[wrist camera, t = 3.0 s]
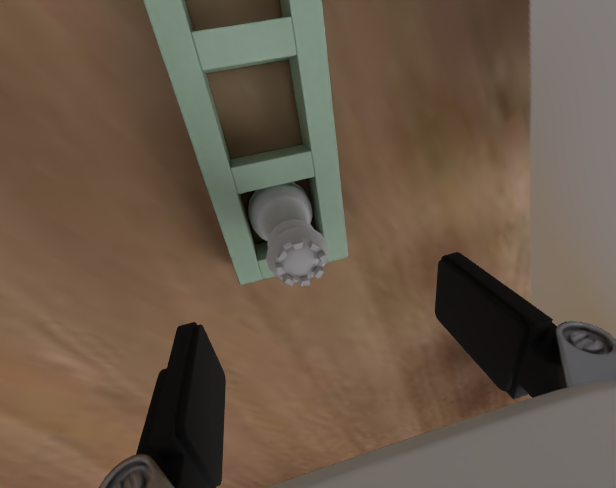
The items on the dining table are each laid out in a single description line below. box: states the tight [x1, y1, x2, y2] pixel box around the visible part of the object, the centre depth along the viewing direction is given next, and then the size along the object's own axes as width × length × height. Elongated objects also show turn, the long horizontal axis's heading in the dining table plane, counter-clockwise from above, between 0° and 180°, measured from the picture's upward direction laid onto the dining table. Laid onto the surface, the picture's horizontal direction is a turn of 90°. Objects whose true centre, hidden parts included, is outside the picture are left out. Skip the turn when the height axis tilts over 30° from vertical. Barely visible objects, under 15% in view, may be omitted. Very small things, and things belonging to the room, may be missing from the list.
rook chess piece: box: [248, 182, 329, 287], centre depth 18 cm, size 4×4×8 cm
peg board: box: [143, 0, 348, 285], centre depth 17 cm, size 8×21×2 cm, turn 9°
